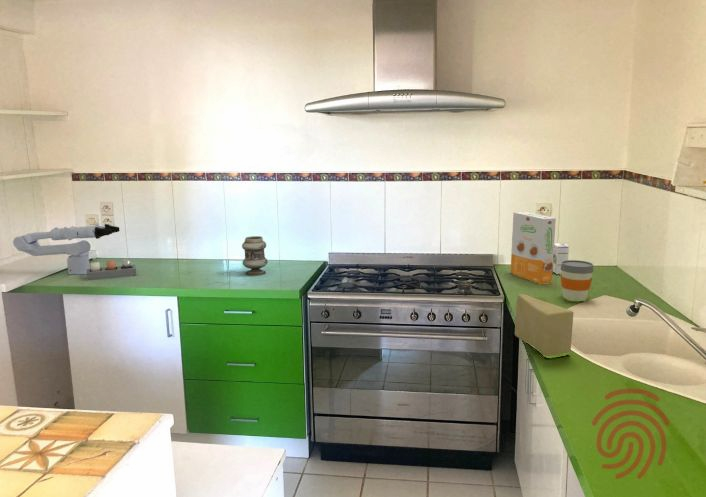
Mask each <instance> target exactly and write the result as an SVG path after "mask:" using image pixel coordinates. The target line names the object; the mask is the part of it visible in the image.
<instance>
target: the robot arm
mask: <svg viewBox="0 0 706 497" xmlns="http://www.w3.org/2000/svg"><path fill="white" fill-rule="evenodd" d="M118 232H120V227H119V226H115V225H110V224H108V223H105V224H104V226H102V225H99V223H98V222H97V223H95V225H91V226H89V225H88V226H79V227H78V226H71V227H67V226H64V227H61V228H59V227H58V226H56V227H54V228H52V229H50V231H39V232H37V231H36V232H31V233H27V234H24V235H21V236H15V237H14V238H13V240H12V244H13V246H14V247H15V248H16V250H18V252H24V253H26V254H27V255H30V256H32V257H37V256H38V257H41V256H55V255H68V257H67V259H66V263H67V270H68V271H67V272H68V273H67V275H87V274H86V272H87V269H91V264H90V258H89V252H90V250H91V243H90V242H89V241H87V240H83V239H92V238H93V239H97V240H98V239H101V238H102V237H104V236H109V235H112V234H114V233H118ZM46 239H51V240H52V241H63V240H64V241H65V240H68V241H72V240H74V239H82V240H80V241H77V242H73V243H72V242H71V243H65V244H63V243H62V244H51V245H50V244H49V245H41V244H40V243H39V240H46Z"/></svg>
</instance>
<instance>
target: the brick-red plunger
mask: <svg viewBox="0 0 706 497" xmlns="http://www.w3.org/2000/svg"><path fill="white" fill-rule="evenodd" d="M105 263H106V267H107V270H116V260H108V261H106V262H105Z"/></svg>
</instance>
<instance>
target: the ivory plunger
mask: <svg viewBox="0 0 706 497" xmlns="http://www.w3.org/2000/svg"><path fill="white" fill-rule="evenodd" d="M89 265H90V269H91V272H95V271H100V268H101V264H100V262H98V261H94V262H91V263H90V262H89Z"/></svg>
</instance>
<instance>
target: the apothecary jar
mask: <svg viewBox="0 0 706 497" xmlns="http://www.w3.org/2000/svg"><path fill="white" fill-rule="evenodd" d="M266 248H267V242H266V241H264V238H263V236H260V235H259V236H258V235H257V236H254V235H253V236H251V235H250V236H246V237H245V238H244V242H242V244H241V249H243V250H244V259H243V260H242V265H243V266H244V267H245V268H247V269H249V270H247V271H246V272H245V274H246V276H252V277H256V276H257V277H258V276H262V275H265V274H266V270H264V269H262V268H264V267H265V266H267V264H268V258H266V256H265V255H266V254H265V249H266Z"/></svg>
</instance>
